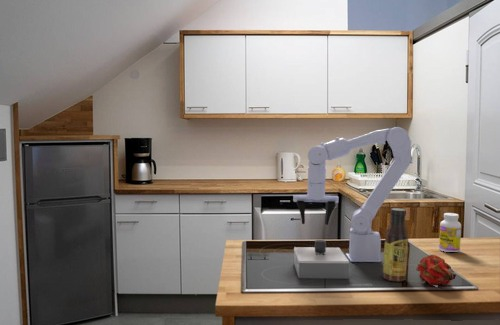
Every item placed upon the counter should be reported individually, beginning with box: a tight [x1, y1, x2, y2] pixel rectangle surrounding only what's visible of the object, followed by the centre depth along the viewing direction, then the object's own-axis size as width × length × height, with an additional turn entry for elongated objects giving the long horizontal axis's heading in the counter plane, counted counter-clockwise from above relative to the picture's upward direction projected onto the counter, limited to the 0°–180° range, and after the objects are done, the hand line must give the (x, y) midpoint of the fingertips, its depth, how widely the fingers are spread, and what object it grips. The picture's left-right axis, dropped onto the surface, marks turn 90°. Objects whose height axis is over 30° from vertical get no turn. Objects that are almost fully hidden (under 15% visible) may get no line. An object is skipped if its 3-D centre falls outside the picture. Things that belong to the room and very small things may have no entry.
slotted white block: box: [293, 246, 350, 280], centre depth 138 cm, size 14×14×5 cm
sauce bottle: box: [382, 207, 409, 283], centre depth 131 cm, size 6×6×20 cm
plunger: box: [314, 239, 327, 255], centre depth 138 cm, size 11×11×8 cm
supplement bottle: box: [438, 212, 462, 253], centre depth 160 cm, size 7×7×13 cm
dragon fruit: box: [415, 254, 457, 287], centre depth 128 cm, size 8×8×12 cm
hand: (314, 223), depth 154 cm, fingers open, 7 cm apart
